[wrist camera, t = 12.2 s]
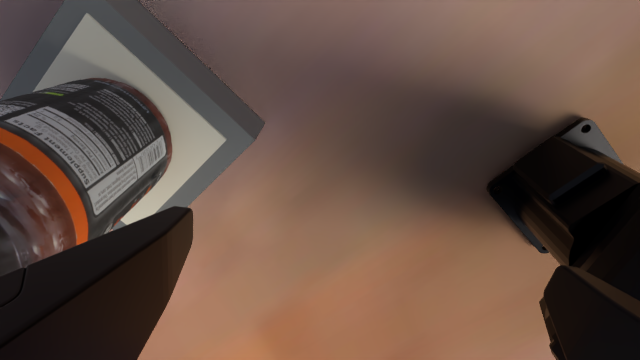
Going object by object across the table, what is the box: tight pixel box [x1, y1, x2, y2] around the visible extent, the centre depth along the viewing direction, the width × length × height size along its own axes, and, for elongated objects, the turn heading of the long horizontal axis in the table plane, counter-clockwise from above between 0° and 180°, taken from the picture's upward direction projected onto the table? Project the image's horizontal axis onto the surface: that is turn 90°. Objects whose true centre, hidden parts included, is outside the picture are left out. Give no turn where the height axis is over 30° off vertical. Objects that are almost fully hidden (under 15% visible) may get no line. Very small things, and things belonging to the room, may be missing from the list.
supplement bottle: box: [0, 78, 172, 276], centre depth 13 cm, size 6×6×11 cm
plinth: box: [0, 0, 265, 230], centre depth 20 cm, size 10×10×3 cm
